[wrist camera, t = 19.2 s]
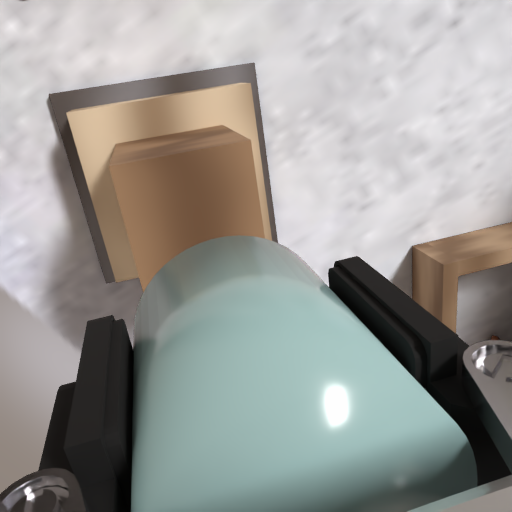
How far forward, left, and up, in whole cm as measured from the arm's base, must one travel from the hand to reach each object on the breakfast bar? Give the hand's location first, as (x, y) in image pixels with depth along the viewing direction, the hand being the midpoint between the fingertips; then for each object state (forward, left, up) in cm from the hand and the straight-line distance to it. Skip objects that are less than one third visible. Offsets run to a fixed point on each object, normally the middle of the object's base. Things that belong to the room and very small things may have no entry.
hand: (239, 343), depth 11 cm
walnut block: (0, 0, -17) cm, 17 cm away
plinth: (0, 0, -20) cm, 20 cm away
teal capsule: (0, 0, -1) cm, 1 cm away
